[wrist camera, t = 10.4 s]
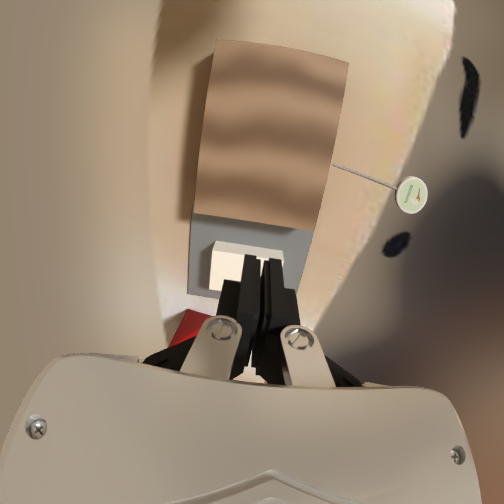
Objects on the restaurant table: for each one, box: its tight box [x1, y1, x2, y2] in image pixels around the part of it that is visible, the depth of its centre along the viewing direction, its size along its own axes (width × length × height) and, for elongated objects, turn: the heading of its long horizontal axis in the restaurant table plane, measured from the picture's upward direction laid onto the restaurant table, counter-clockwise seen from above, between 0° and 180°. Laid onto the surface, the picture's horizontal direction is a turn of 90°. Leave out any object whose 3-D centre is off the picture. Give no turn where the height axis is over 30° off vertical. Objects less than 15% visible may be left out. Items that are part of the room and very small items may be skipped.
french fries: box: [168, 309, 213, 348], centre depth 37 cm, size 9×8×15 cm
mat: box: [188, 205, 314, 299], centre depth 38 cm, size 14×16×1 cm
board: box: [194, 40, 349, 231], centre depth 28 cm, size 20×14×4 cm
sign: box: [333, 164, 427, 214], centre depth 32 cm, size 5×1×15 cm
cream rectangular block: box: [209, 241, 284, 291], centre depth 37 cm, size 6×9×3 cm, turn 81°
